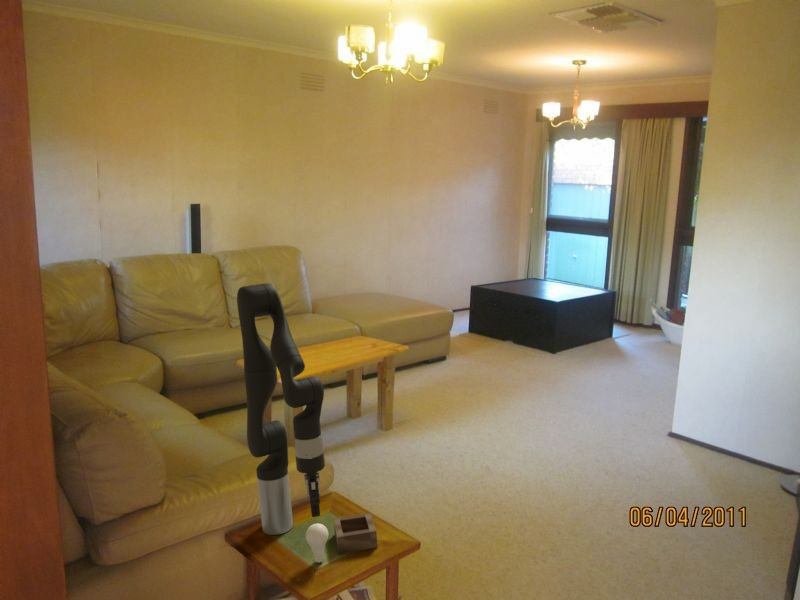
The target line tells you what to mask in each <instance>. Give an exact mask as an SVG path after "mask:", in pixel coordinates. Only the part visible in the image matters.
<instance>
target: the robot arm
mask: <svg viewBox="0 0 800 600" xmlns="http://www.w3.org/2000/svg"><path fill="white" fill-rule="evenodd" d="M236 304H237V314H238V318H239V326H240V332H241V339H242V352H243V353H242V354H243V371H244V373H243V374H244V382H245V391H246V394H245V395H246V408H247V409H246V410H247V411H246V413H247V415H246V417H247V418H246V419H247V420H246V441H247V447H248V450H249V452H250V454H251V456H253V457H254V458H257V459H259V458H262V457H265V456H267V457H266V458H265V459H264V460H263V461H262V462H261V463H259V464H258V465H257V466H256V472H255V473H256V480H257V481H256V482H257V489H258V490H257V491H258V498H259V499H258V500H259V509H260V519H261V527H262V531H263V533H264V534H266V535H270V536H277V535H282V534H285V533H288V532H289V531H290V530H291V529H292V528H293V527H294V521H293V510H292V500H291V499H292V498H291V490H290V480H289V477H290V476H289V469H288V468H289V449H288V448H289V447H288V445H289V444H288V442H289V441H288V434H287V431H286V427H285V425H284V424H283V423H282V421H281V420H276V419H275V420H271V421H268V422H265V423H264V416H265V411H266V408H267V406H268V403H269V402H270V400H271V398H272V396H273V394H274V393H275V389H276V386H277V384H278V372H279V377H280V382H281V387H282V388H281V389H282V395H283V401H284V402H285V403H286V405H287V406H288V407H290V408H293V409H298V408H302V407H305V408H304V409H303V410H301V411H300V412H299V413H297V414H296V415H294V416H293V419H292V426H293V433H294V434H293V435H294V455H295V464H296V465H295V466H296V467H295V468H296V470H297V472H298V473H301V474H303V476H304V478H303V479H304V485H305V486H306V495H307V496H308V497H309V501H308V503H309V505H310V511H311V517H312V518H317V517H320V516H321V510H320V504H321V499H320V494H321V487H320V483H321V478H320V473H319V472H321V471H322V470H324V468H325V467H326V464H325V463H326V461H325V460H326V459H325V454H324V452H325V451H324V442H323V438H322V431H321V430H322V429H321V413H322V406H323V402H324V397H325V389H324V385H323V381H321V379H320V378H319V377H317V376H313V375H311V376H307V377H304V378H300V379H295V378H296V377H298V376H299V375H301V374H302V373H303V372H304V371H305V368H306V364H305V361H304V359H303V358H302V355H301V353H300V351H299V349H298V347H297V345H296V342H295V340H294V338H293V335H292V332H291V329H290V326H289V322H288V319H287V315H286V312H285V308H284V307H283V303H282V299H281V297H280V293H279V292H278V290H277V288H276V287H275V285H273V284H272V283H270V282H269V283H266V282H265V283H257V284H251V285H244V286H241V287H239V288H238V290H237V295H236ZM266 316H270V318H271V319H272V322H273V331H272V334H271V335H272V336H271V340H270V348H269V347H268V346H267V344H266V343H265V342H264V341H263V339H262V338H261V336H260V334H259V332H258V329H257V326H256V318H260V317H266Z"/></svg>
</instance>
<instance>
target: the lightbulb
mask: <svg viewBox="0 0 800 600" xmlns="http://www.w3.org/2000/svg"><path fill="white" fill-rule="evenodd" d="M328 538H329V530H328V528H327V527H326V526H325V525H324V524H322V523H313V524H311V525H310V526H309V527H308V528H307V530H306V532H305V539H306V542H307V543H308V545H309V546H310V548H311V551H312V554H313V557H314V561H315V563H319V564H320V562H321V563H322V562H323V561H324V560H325V549H326V548H325V546H326V544H327V541H328V540H329V539H328Z"/></svg>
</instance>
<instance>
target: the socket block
mask: <svg viewBox="0 0 800 600" xmlns="http://www.w3.org/2000/svg"><path fill="white" fill-rule="evenodd" d="M333 527H334V537H335V542H336V547H337V552H338V555H341V554H347V553H354V552H359V551H360V552H361V551H366V550H372V549H377V548H378V538H377V536H378V535H377V529H376V527H375V522H374V520H373V517H372V514H371V512H369V513H362V514H355V515H349V516H342V517H337V518H336V517H335V518H333Z"/></svg>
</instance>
